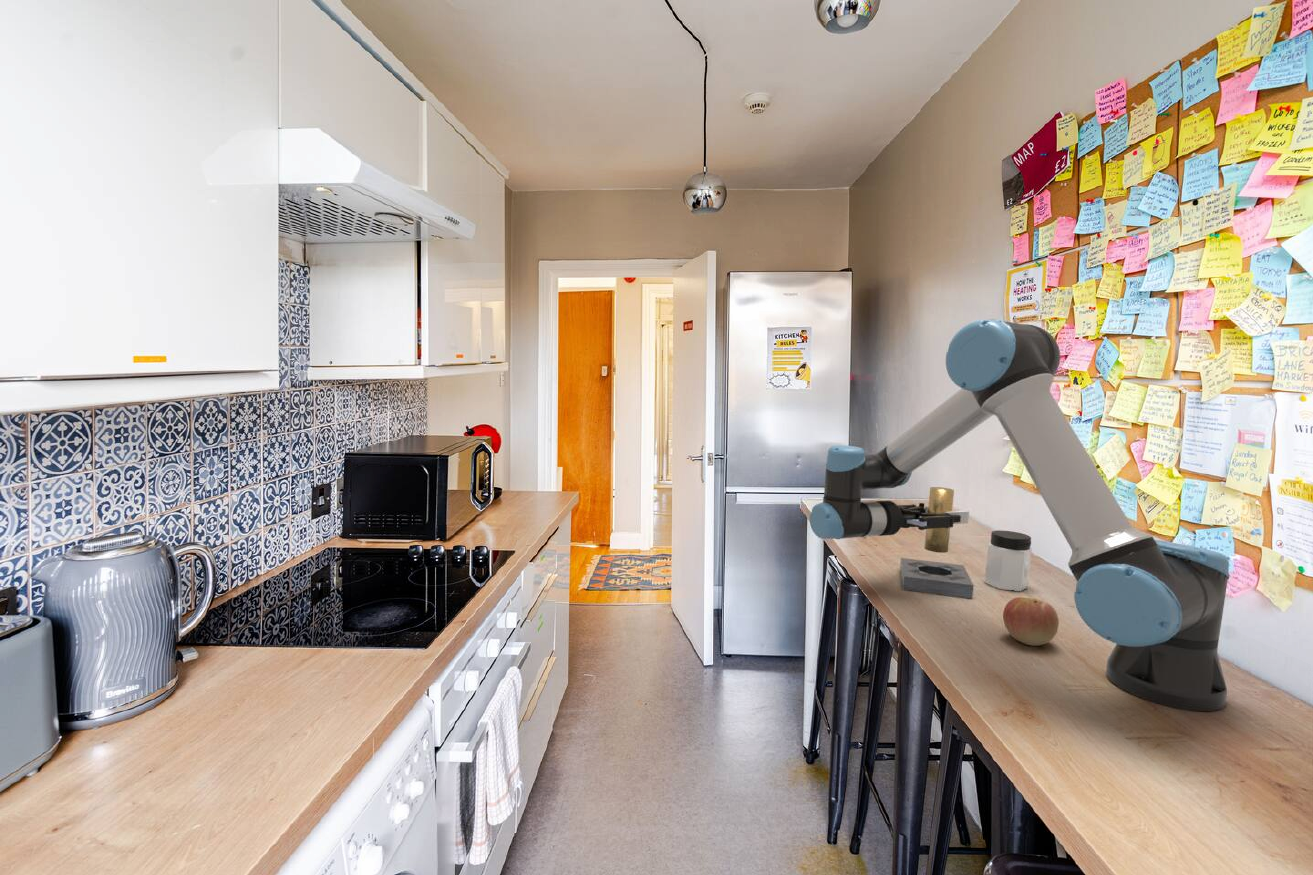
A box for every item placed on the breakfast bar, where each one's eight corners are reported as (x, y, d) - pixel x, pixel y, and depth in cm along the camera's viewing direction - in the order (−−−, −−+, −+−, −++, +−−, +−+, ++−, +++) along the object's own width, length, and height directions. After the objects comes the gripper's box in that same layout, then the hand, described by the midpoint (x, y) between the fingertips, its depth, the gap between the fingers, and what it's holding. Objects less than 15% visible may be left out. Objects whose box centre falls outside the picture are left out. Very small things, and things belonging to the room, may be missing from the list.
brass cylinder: (949, 553, 152) (955, 492, 150) (925, 550, 153) (931, 489, 152) (946, 548, 157) (952, 488, 155) (923, 545, 158) (929, 486, 156)
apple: (1023, 652, 118) (1028, 608, 118) (990, 632, 127) (994, 591, 126) (1067, 651, 120) (1072, 607, 119) (1031, 631, 129) (1035, 590, 128)
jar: (1018, 594, 151) (1023, 541, 149) (980, 584, 157) (985, 533, 155) (1031, 586, 157) (1037, 535, 156) (994, 577, 163) (999, 528, 161)
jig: (972, 598, 146) (973, 585, 146) (903, 589, 150) (904, 576, 150) (962, 577, 161) (963, 565, 161) (899, 569, 165) (900, 557, 165)
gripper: (848, 525, 156) (926, 520, 165) (905, 546, 139) (988, 540, 148) (851, 493, 155) (929, 490, 164) (908, 510, 138) (991, 506, 147)
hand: (956, 514), depth 156 cm, fingers closed on brass cylinder, 5 cm apart
